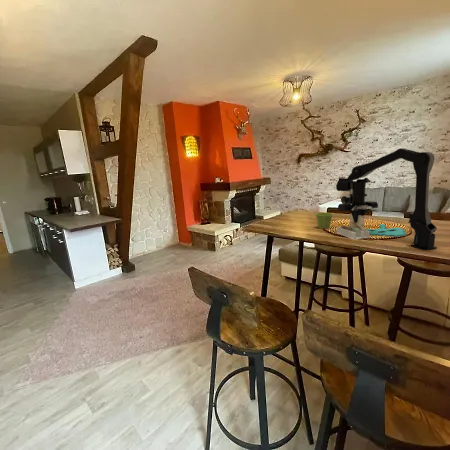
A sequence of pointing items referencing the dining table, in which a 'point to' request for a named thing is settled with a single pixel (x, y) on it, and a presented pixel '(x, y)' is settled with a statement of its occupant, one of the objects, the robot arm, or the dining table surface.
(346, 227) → the walnut offcut
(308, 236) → the dining table surface
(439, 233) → the dining table surface
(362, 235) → the board rack
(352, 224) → the birch sheet
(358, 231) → the sage offcut
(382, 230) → the alien figure
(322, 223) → the plant pot
